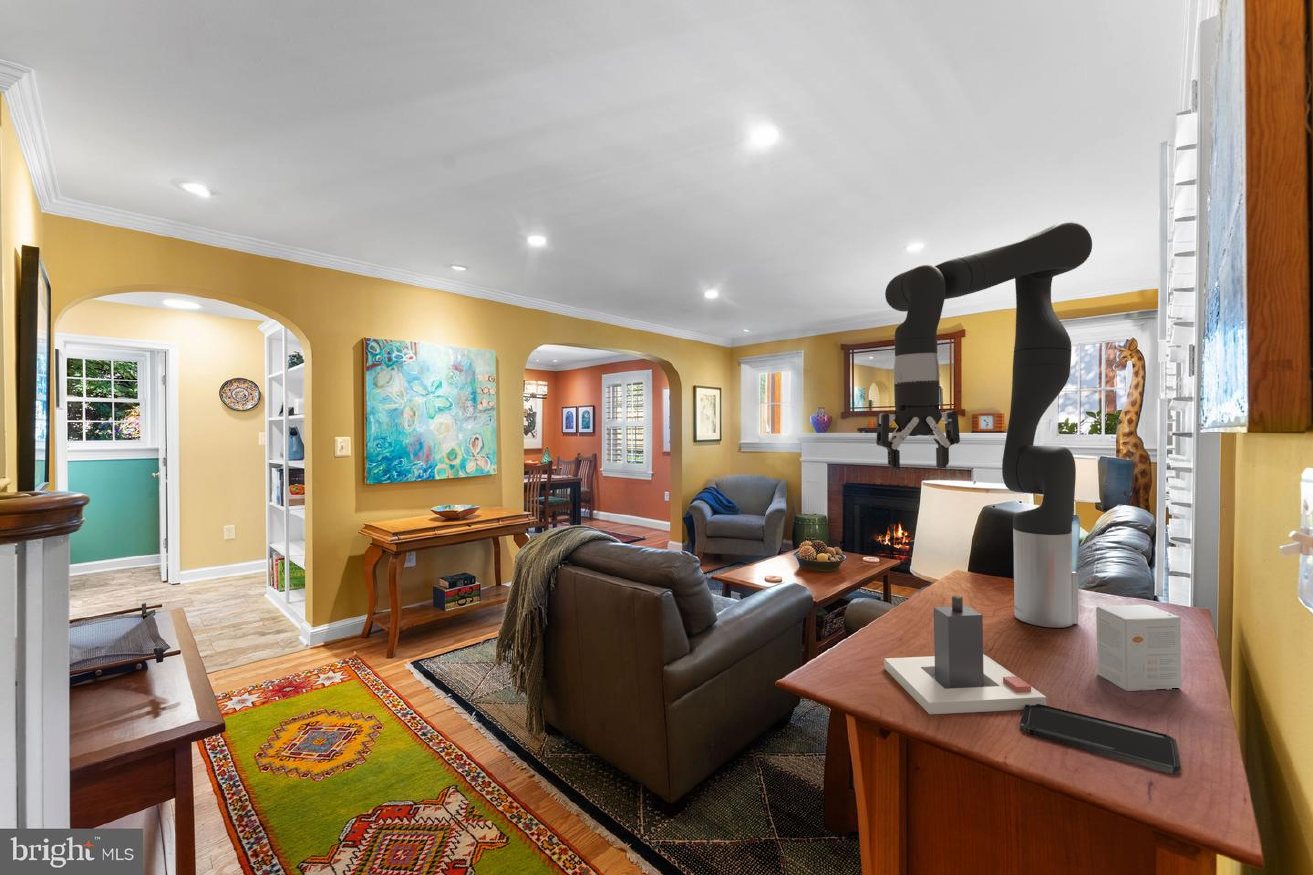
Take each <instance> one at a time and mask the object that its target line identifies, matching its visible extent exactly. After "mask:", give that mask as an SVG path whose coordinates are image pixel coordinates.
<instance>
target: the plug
mask: <svg viewBox="0 0 1313 875" xmlns="http://www.w3.org/2000/svg"><path fill="white" fill-rule="evenodd" d="M963 601H964V599H963V596H960V595H952V596H951V605H949V606H934V607H933V644H934V646H933V647H934V649H933V650H934V655H933V656H935V680H936V681H937V682H939V683H940V684H941V685H942V686H943V687H944V688H945V689H951V688H972V687H984V673H983V654H984V634H983V633H984V630H983V629H984V628H983V626H984V625H983V623H984V621H983V614H981V613H980V612H979V611H977V610H975V609H973V608H971V607H970V606H967V605H963V604H964V603H963Z"/></svg>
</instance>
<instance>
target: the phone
mask: <svg viewBox="0 0 1313 875" xmlns="http://www.w3.org/2000/svg"><path fill="white" fill-rule="evenodd" d="M1022 711H1023V712H1022V714H1021V717H1020V721H1019V727H1020V728H1019V729H1020V731H1021V732H1022V733H1024V734H1026V735H1028V736H1032V737H1037V738H1040V739H1043V740H1046V741H1050V742H1052V743H1053V742H1054V743H1058V744H1061V745H1064V746H1068V747H1071V748H1075V749H1080V750H1083V751H1087V752H1090V753H1094V754H1098V755H1100V756H1101V755H1102V756H1105V757H1108V758H1113V759H1114V760H1115V759H1116V760H1120V761H1123V762H1127V763H1131V764H1134V765H1138V766H1142V767H1145V768H1148V769H1152V770H1155V771H1160V772H1164V773H1167V774H1173V775H1178V774H1180V773H1181V761H1180V755H1179V754H1180V753H1179V748H1178V742H1177V740H1176V738H1174V737H1173V736H1170V735H1169V734H1166V733H1161V732H1157V731H1154V730H1150V729H1145V728H1141V727H1137V726H1132V725H1128V724H1124V723H1119V722H1116V721H1111V720H1107V719H1103V718H1099V717H1095V716H1091V715H1087V714H1083V713H1080V712H1079V713H1078V712H1074V711H1070V710H1066V709H1061V708H1057V707H1052V706H1050V705H1046V706H1045V705H1041V704H1036V705H1030V704H1028V705H1025V708H1024V710H1022Z"/></svg>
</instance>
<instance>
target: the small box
mask: <svg viewBox="0 0 1313 875" xmlns="http://www.w3.org/2000/svg"><path fill="white" fill-rule="evenodd" d="M1095 612H1096V613H1095V616H1096V622H1095V623H1096V663H1097V665H1096V667H1097V668H1096V669H1097V670H1096V671H1097V675H1098V676H1099V677H1102V678H1103V679H1104V680H1107V681H1108V682H1110V683H1112V684H1114V685H1116V686H1117V687H1119V688H1120V689H1122V690H1123V691H1126V692H1132V691H1133V692H1135V691H1136V692H1137V691H1138V692H1139V691H1140V690H1141V691H1157V690H1156V689H1166V690H1173V689H1172V688H1182V642H1181V640H1182V639H1181V638H1182V636H1181V635H1182V634H1181V633H1182V632H1181V630H1182V628H1181V627H1182V625H1181V623H1182V622H1181V617H1180V616H1178V615H1175V614H1174V613H1173V614H1172V613H1170V612H1167V611H1166V610H1162V609H1160V608H1157V607H1155V606H1152V605H1149V604H1132V605H1129V604H1127V605H1106V606H1104V605H1103V606H1096V607H1095Z"/></svg>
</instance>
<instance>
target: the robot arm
mask: <svg viewBox="0 0 1313 875" xmlns="http://www.w3.org/2000/svg"><path fill="white" fill-rule="evenodd" d="M1092 250H1093V239H1092V236H1091V234H1090V232H1089V229H1087V228H1086V227H1085V226H1084V225H1082V224H1080V223H1078V222H1074V221H1064V222H1059V223H1056V224H1053V225H1051V226H1048V227H1046V228H1043V229H1042V230H1038V231H1037V232H1034V233H1032V234H1030V235H1028V236H1027V237H1024V239H1022V240H1020V241H1017V242H1014V243H1011V244H1006V245H1002V246H999V247H994V248H990V249H986V250H982V251H977V252H973V253H970V254H965V255H962V256H958V257H954V258H951V259H948V260H945V261H943V262H941V263H939V264H936V265H931V264H924V265H923V264H922V265H919V266H917V267H914V268H911V269H909V270H907V271H904V272H902V273H899V274H897V275H895V276H894V277H893V278H892V279H890V281H889V283H887V285H886V289H885V293H884V294H885V300H886V303H887V304H888V306H889V307H890V308H892V309H893V310H895V311H897V312H906V317H905V320H904V321H903V322H902V323H900V324H899V325H897V327H896V328H895V330H894V363H893V364H894V365H893V387H894V388H893V392H894V394H893V395H894V396H893V397H894V412H893V414H891V413H890V414H889V413H886V412H885V413H884V412H883V413H882V412H881V413H878V414H877V418H876V441H875V442H876V445H877V446H878V447H882V448H885V449H886V450H887V465H888V467H889V468H890V470H892V471H900V469H901V463H900V461H901V459H900V458H901V457H900V456H901V455H900V449H898V448H900V446H901V444H902V443H903V441H905V440H907V437H918V436H920V437H921V436H923V437H924V436H925V437H927V436H928V437H929V439H931V440H932V441H933V443H934V444H936V446H937V447H935V462H936V468H938V469H946V468H947V466H948V465H949V463H950V450H949V449H950V447H951V446H953V445H955V444H956V445H957V444H959V443H960V442H961V438H960V426H959V413H958V411H957V410H946V411H945V412H944V411H943V412H942V411H941V410H940V403H941V391H940V389H941V386H940V384H941V383H940V377H941V375H940V363H939V362H940V361H939V355H938V333H937V332H938V327H939V323H940V320H941V316H942V312H943V309H944V308H943V307H944V304H945V300H949V299H955V298H959V297H964V296H967V295H970V294H974V293H977V292H981V291H984V290H987V289H990V288H992V287H996V286H998V285H1001V284H1003V283H1006V282H1009V281H1011V280H1014V283H1015V301H1016V302H1015V307H1016V308H1015V334H1014V336H1015V337H1014V338H1015V339H1014V345H1013V346H1014V347H1013V355H1012V356H1013V358H1012V382H1011V397H1010V398H1011V399H1010V400H1011V401H1010V410H1009V411H1010V412H1009V418H1008V425H1007V432H1006V436H1005V437H1006V438H1005V441H1004V443H1005V444H1004V448H1003V457H1002V464H1001V473H1002V479H1003V483H1004V486H1005V487H1006V488H1007V489H1008V490H1009V491H1011V492H1014V493H1022V494H1030V495H1031V494H1032V495H1034V494H1035V495H1042V500H1041V501H1042V502H1041V504H1040V505H1039V506H1038V507H1035V508H1032V509H1029V510H1024V511H1019V512H1016V513H1015V514H1014V515H1013V518H1012V529H1013V530H1012V531H1013V532H1012V533H1013V535H1012V536H1013V537H1012V538H1013V540H1012V541H1013V583H1014V584H1013V586H1014V587H1013V588H1014V592H1013V595H1014V596H1013V597H1014V598H1013V599H1014V601H1013V602H1014V605H1013V606H1014V617H1015V618H1016V619H1018V620H1019V621H1021V622H1024V623H1026V624H1030V625H1033V626H1038V627H1045V628H1053V629H1054V628H1057V629H1059V628H1061V629H1062V628H1068V627H1069V628H1070V627H1071V626H1073V625H1076V624H1079V575H1078V573H1077V572H1076V571H1074V570H1073V521H1074V515H1075V494H1076V477H1077V475H1076V474H1077V467H1076V460H1075V457H1074V455H1073V452H1072V451H1071V450H1070V449H1069V448H1067V447H1065V446H1060V445H1058V446H1056V445H1035V444H1034V442H1035V436H1036V433H1037V432H1036V431H1037V428H1038V425H1039V423H1040V420H1041V419H1042V417H1043V416H1044V414H1045V413H1046V412H1047V410H1048V409H1049V407H1050V406H1051V405H1052V404H1053V403H1054V401H1055V400H1056V399H1057V397H1058V396H1059V395H1060V394H1061V392H1062V391H1063V389H1064V387H1065V386H1066V384H1067V383H1068V381H1069V378H1070V374H1071V367H1072V366H1071V365H1072V340H1071V337H1070V335H1069V333H1068V331H1067V330H1066V327H1064V325H1063V323H1062V322H1061V320H1060V319H1059V317H1058V315H1057V314H1056V312H1055V310H1054V308H1053V304H1052V282H1053V278H1054V277H1055V276H1056V277H1057V276H1059V275H1061V274H1065V273H1068V272H1070V271H1073V270H1075V269H1077V268H1078V267H1080V266H1082V265H1083V264H1084V263H1085V262H1086V261H1087V260H1088V258H1089V257H1090V255H1091V253H1092ZM941 420H942V423H944V429H945V433H944V432H943V431H942V429H941V428H940V427H939V423H940V421H941ZM893 422H894V423H895V425H896V426H897V427H896V429H894V431H893V433H892V434H891V437H890V426H891V425H892V424H893Z"/></svg>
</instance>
